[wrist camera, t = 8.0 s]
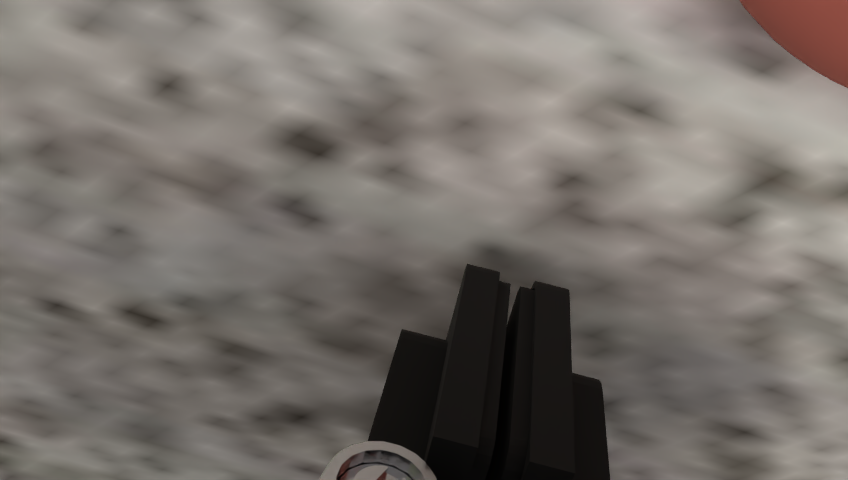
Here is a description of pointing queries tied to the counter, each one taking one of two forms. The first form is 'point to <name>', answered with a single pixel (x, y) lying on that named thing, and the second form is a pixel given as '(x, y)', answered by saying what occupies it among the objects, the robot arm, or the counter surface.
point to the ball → (808, 32)
